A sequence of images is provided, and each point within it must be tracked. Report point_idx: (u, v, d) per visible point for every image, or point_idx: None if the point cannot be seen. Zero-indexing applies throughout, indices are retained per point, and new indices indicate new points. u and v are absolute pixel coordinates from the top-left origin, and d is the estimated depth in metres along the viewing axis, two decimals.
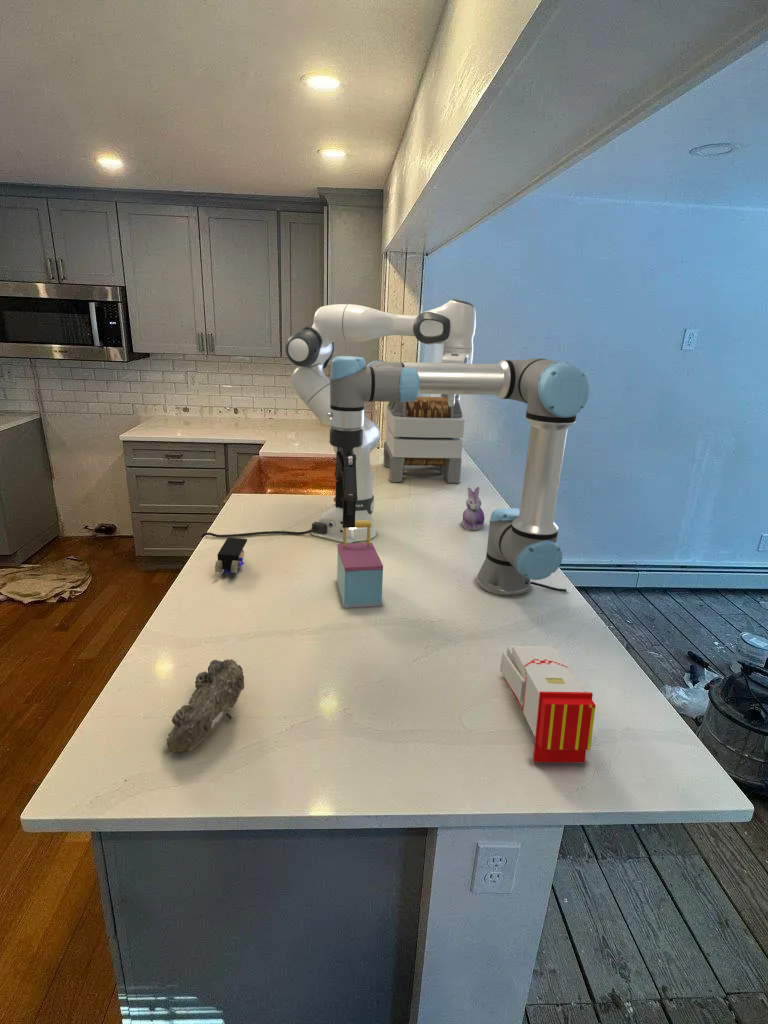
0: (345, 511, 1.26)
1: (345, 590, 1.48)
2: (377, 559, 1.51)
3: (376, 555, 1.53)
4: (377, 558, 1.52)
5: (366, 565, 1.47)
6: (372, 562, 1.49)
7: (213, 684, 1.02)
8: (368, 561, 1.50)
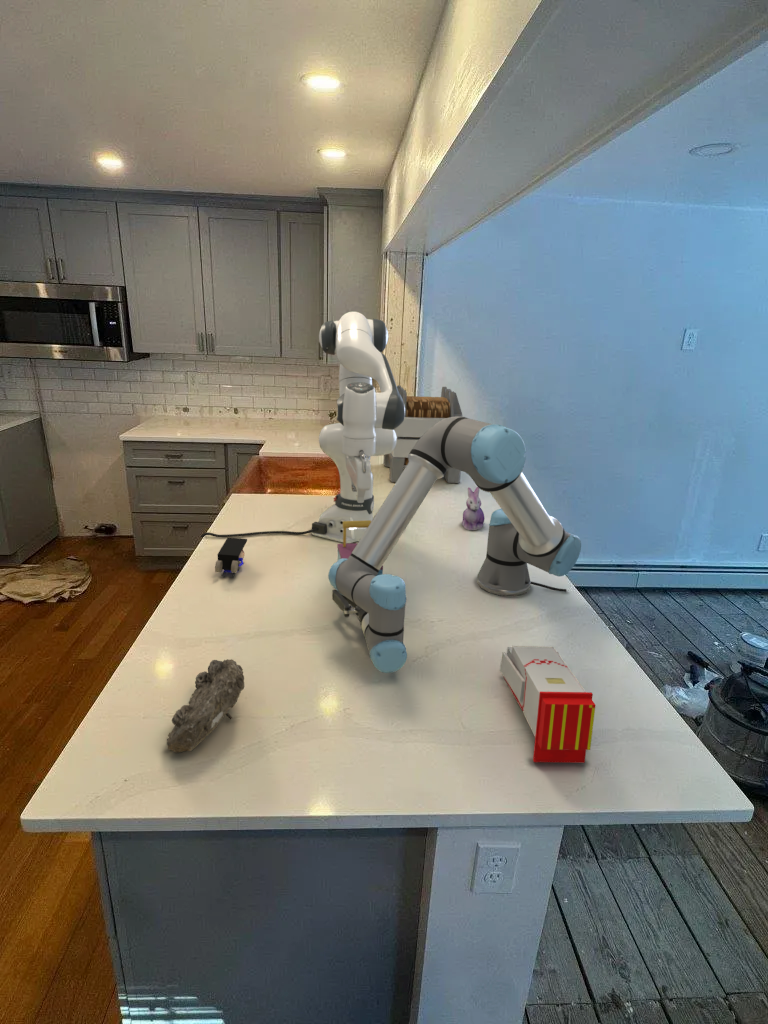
0: None
1: None
2: None
3: None
4: None
5: None
6: None
7: (213, 684, 1.02)
8: None
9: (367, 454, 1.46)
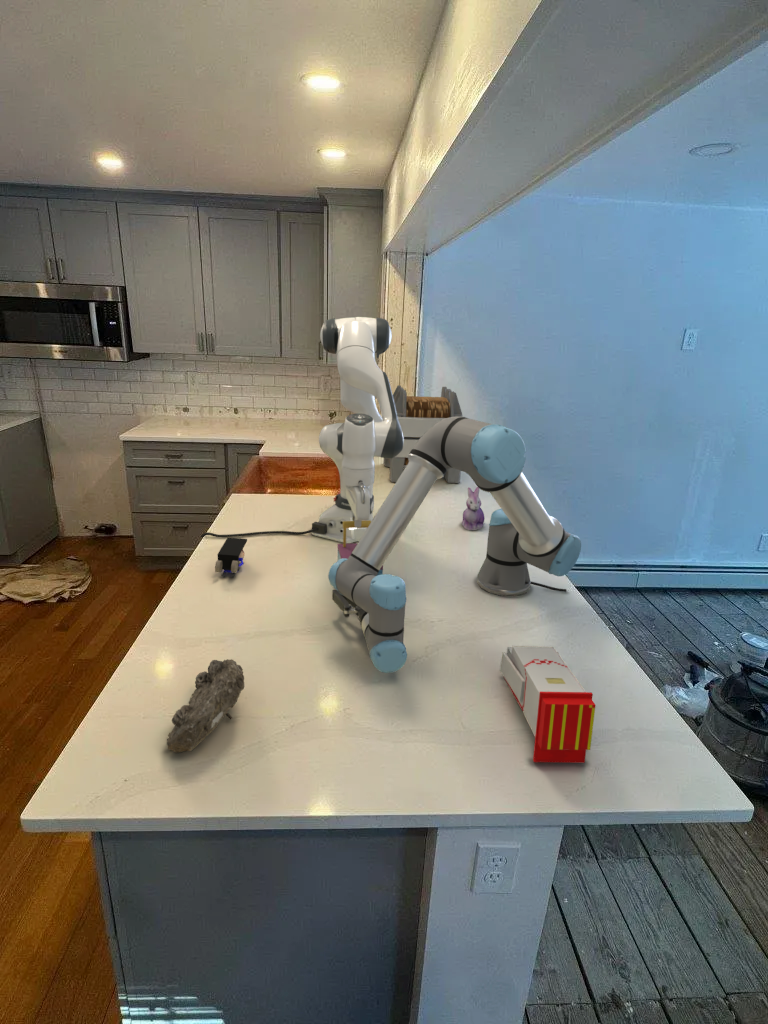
0: None
1: None
2: None
3: None
4: None
5: None
6: None
7: (213, 684, 1.02)
8: None
9: (366, 484, 1.49)
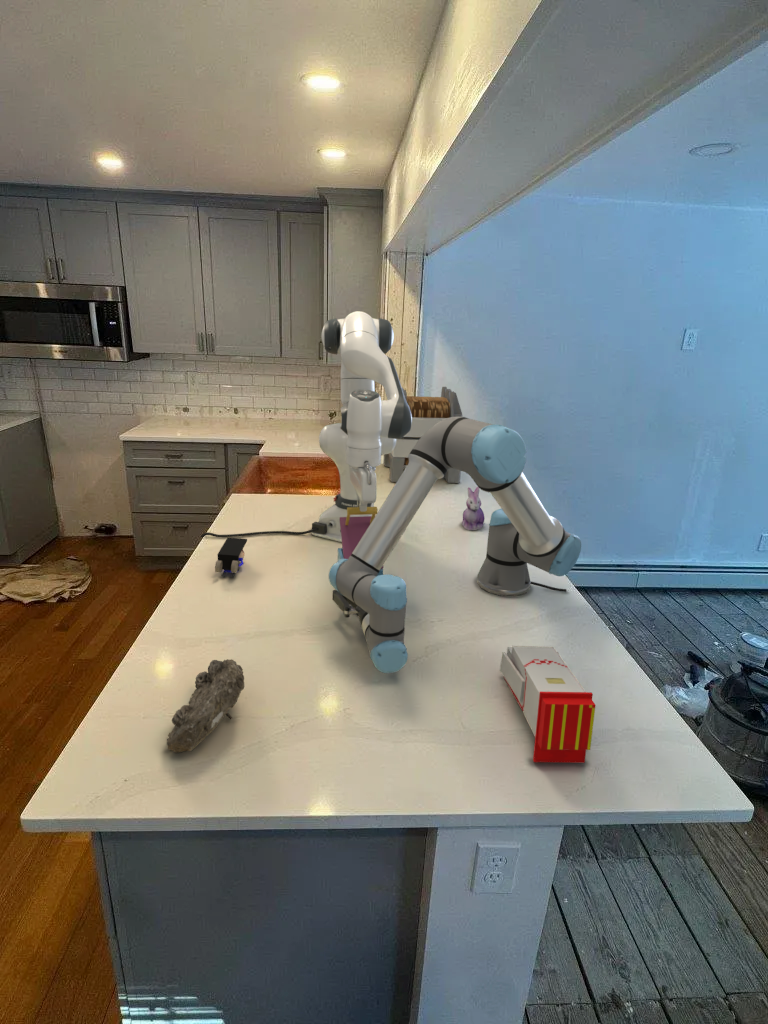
0: None
1: None
2: None
3: None
4: None
5: None
6: None
7: (213, 684, 1.02)
8: None
9: (372, 465, 1.39)
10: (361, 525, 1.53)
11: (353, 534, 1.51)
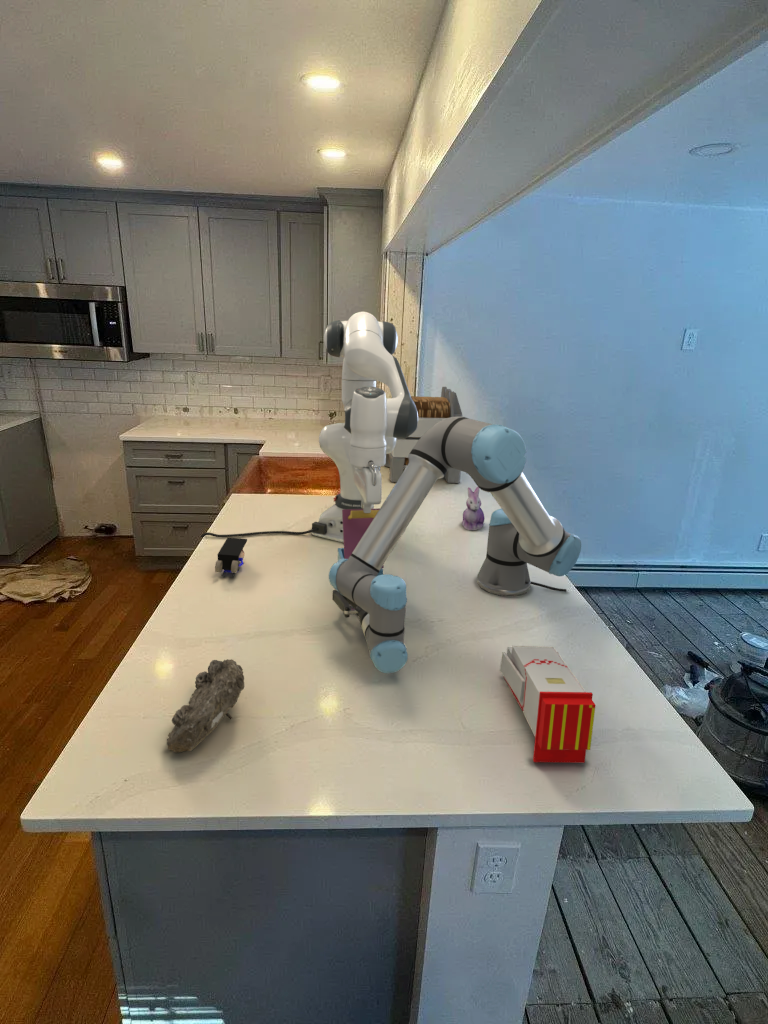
0: None
1: None
2: None
3: None
4: None
5: None
6: None
7: (213, 684, 1.02)
8: None
9: (377, 465, 1.33)
10: (364, 519, 1.48)
11: (355, 530, 1.47)
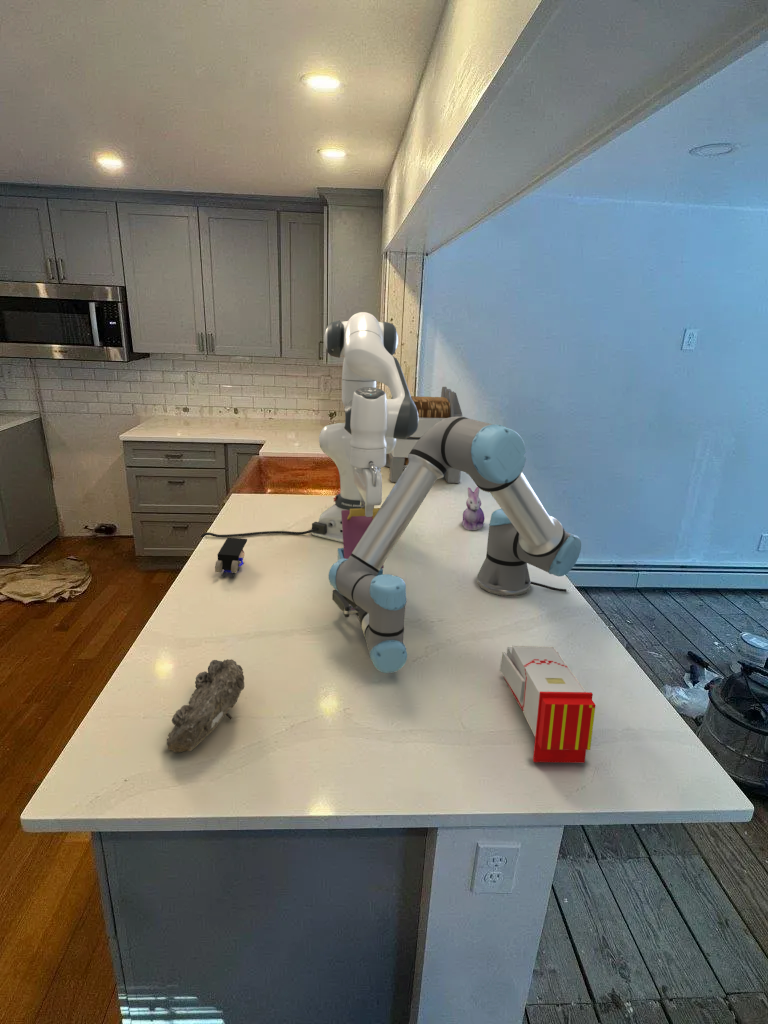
0: None
1: None
2: None
3: None
4: None
5: None
6: None
7: (213, 684, 1.02)
8: None
9: (377, 466, 1.33)
10: (363, 520, 1.49)
11: (355, 530, 1.48)
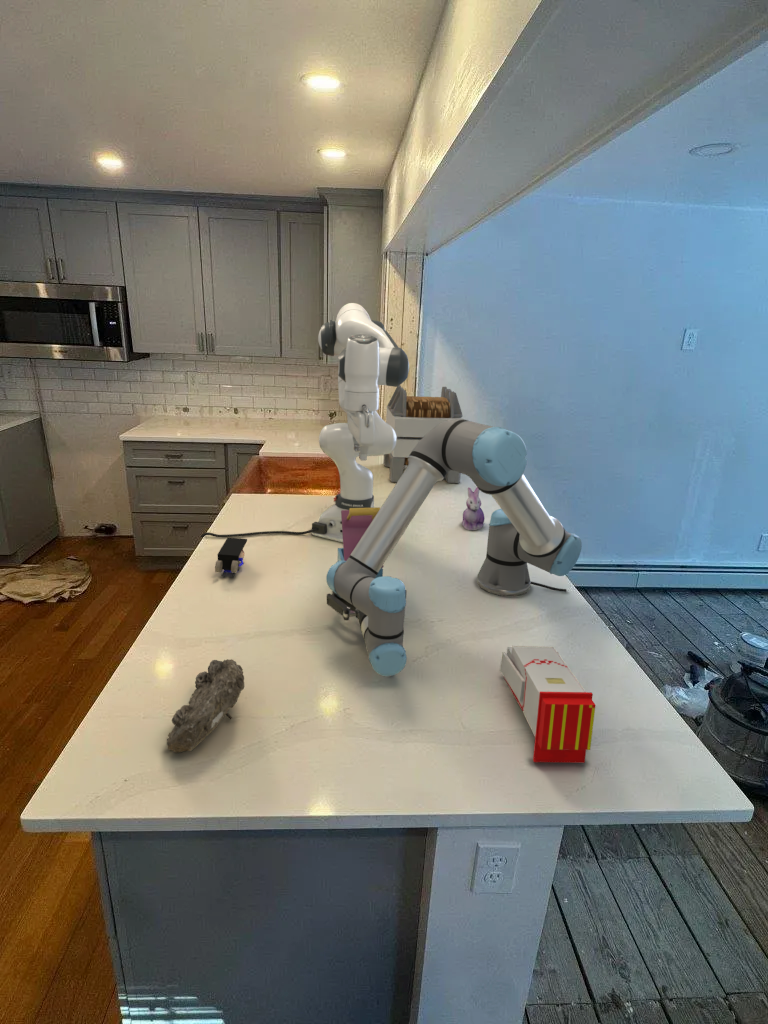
0: None
1: None
2: None
3: None
4: None
5: None
6: None
7: (213, 684, 1.02)
8: None
9: (370, 409, 1.40)
10: (363, 520, 1.49)
11: (354, 530, 1.48)
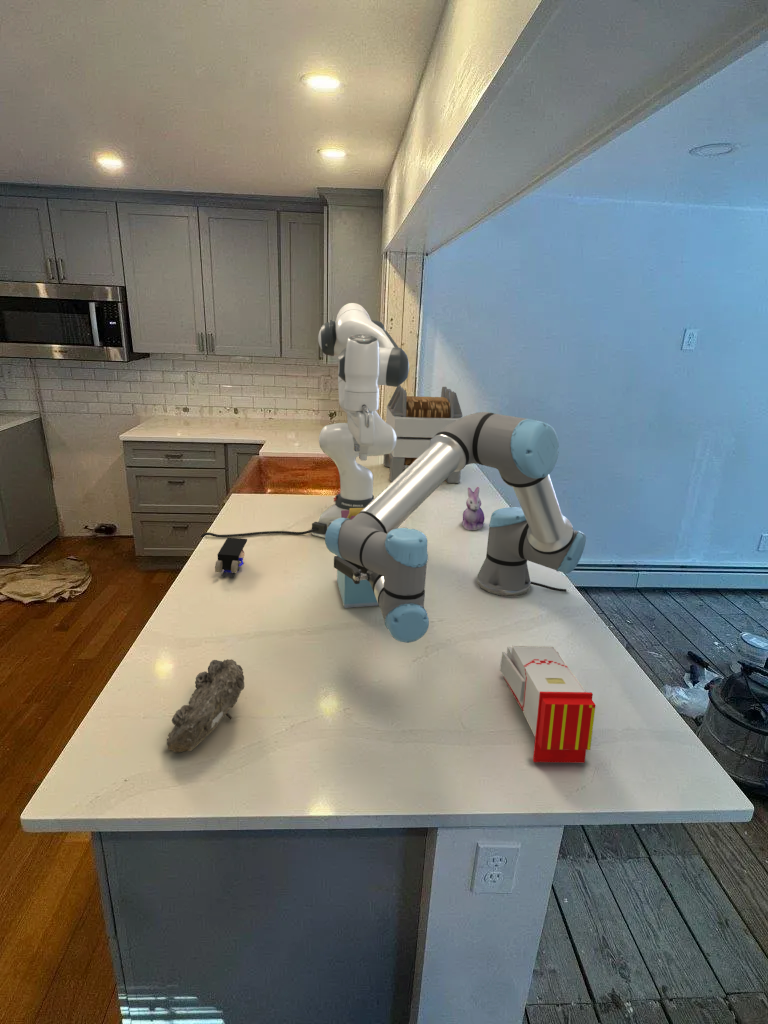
0: None
1: (345, 590, 1.48)
2: None
3: None
4: None
5: None
6: None
7: (213, 684, 1.02)
8: None
9: (370, 409, 1.40)
10: None
11: None
